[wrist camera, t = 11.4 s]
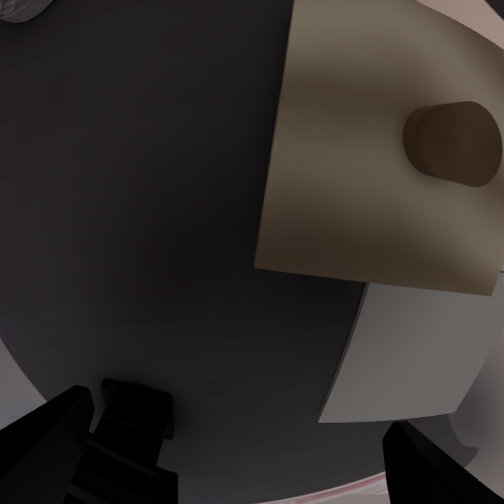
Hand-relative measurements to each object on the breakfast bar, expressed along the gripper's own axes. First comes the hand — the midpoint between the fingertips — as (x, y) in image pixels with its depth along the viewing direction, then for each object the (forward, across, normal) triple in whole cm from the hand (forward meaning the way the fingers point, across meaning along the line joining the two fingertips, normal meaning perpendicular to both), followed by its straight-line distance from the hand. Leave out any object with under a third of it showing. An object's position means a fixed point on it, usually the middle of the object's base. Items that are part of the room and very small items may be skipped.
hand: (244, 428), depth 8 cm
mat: (+13, -16, +6) cm, 21 cm away
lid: (+9, -7, -9) cm, 14 cm away
